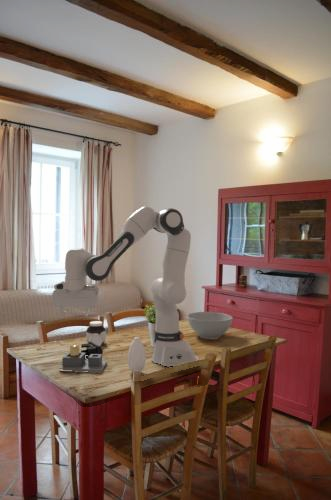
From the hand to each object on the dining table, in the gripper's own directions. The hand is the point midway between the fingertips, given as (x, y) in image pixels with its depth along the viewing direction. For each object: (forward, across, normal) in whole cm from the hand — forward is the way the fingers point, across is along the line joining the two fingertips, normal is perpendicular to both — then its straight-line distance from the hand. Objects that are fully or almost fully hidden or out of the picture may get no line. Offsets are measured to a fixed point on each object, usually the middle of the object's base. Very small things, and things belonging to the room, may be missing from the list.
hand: (75, 316), depth 172 cm
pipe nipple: (+21, 0, 0) cm, 21 cm away
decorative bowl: (+24, -63, -61) cm, 91 cm away
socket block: (+23, -4, 0) cm, 23 cm away
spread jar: (+23, -1, -36) cm, 43 cm away
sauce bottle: (+23, -28, +4) cm, 37 cm away
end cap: (+23, -4, -14) cm, 27 cm away
